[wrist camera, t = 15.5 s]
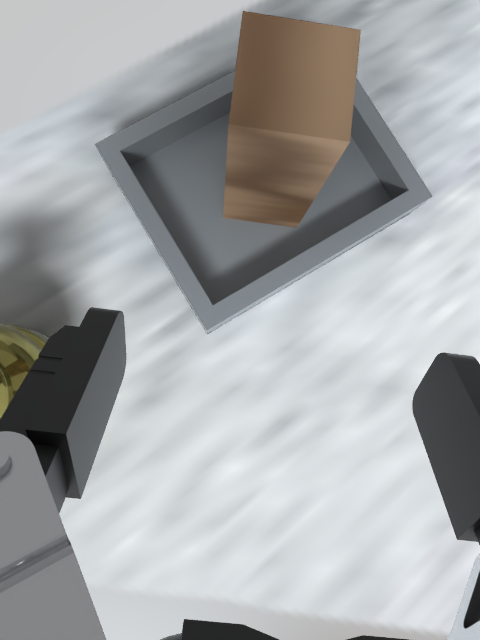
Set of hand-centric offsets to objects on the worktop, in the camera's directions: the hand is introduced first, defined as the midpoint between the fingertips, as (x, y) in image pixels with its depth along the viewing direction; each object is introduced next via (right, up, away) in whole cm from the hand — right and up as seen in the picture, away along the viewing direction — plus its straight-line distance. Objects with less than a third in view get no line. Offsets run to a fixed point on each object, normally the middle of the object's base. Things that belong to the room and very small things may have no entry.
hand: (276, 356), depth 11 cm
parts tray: (0, +9, +16) cm, 18 cm away
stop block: (+1, +9, +15) cm, 17 cm away
